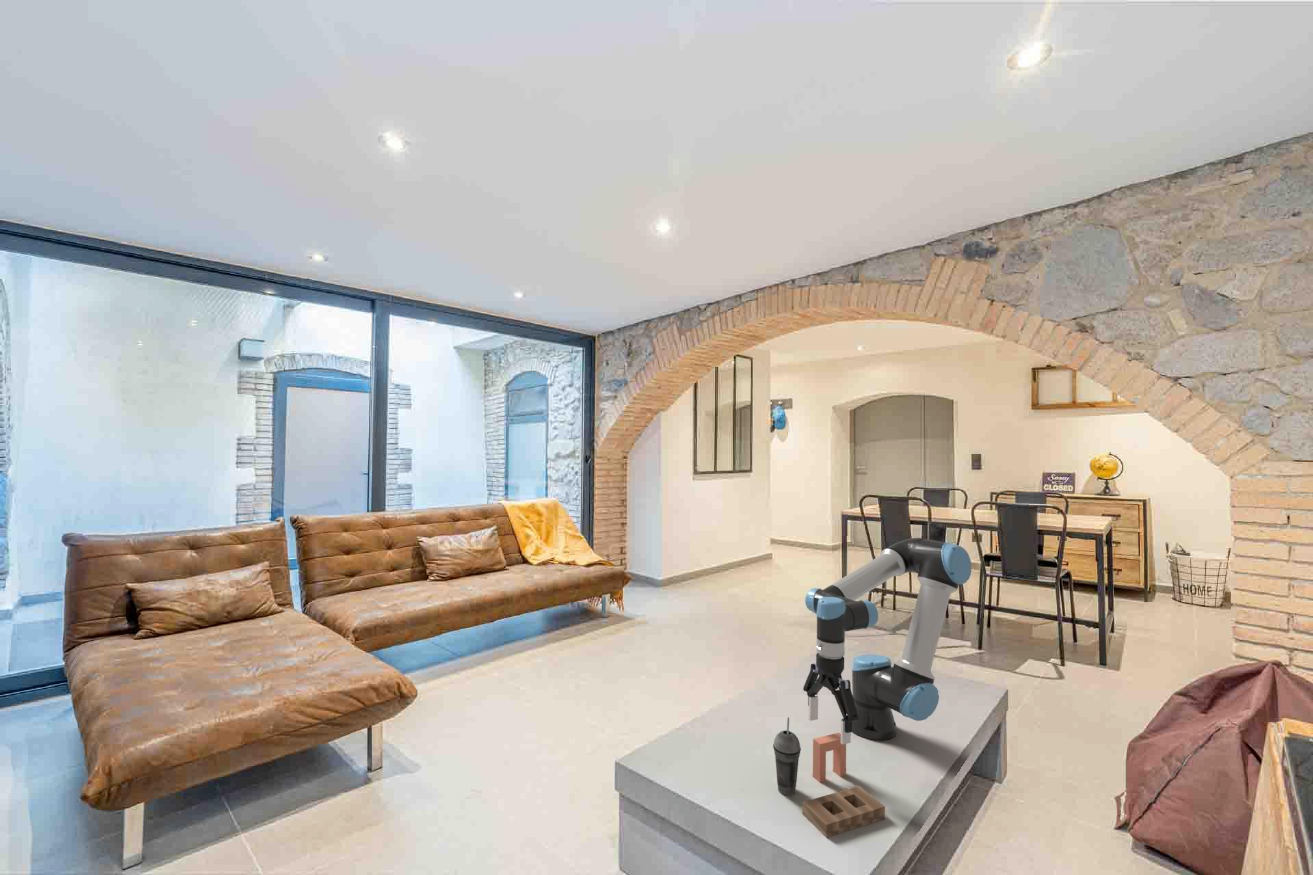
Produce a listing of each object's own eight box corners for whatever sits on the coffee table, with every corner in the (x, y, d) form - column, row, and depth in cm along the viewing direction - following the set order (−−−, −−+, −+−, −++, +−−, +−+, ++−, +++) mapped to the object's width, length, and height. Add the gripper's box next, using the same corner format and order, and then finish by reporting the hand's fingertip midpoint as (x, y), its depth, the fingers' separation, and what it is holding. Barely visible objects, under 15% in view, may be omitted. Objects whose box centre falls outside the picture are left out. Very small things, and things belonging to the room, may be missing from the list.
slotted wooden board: (859, 797, 149) (859, 785, 149) (884, 818, 140) (884, 806, 140) (802, 813, 142) (802, 801, 142) (826, 837, 134) (826, 824, 134)
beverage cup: (796, 781, 155) (796, 708, 155) (804, 798, 148) (804, 722, 148) (769, 782, 155) (770, 709, 155) (776, 799, 148) (777, 722, 148)
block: (838, 769, 161) (838, 732, 161) (845, 775, 158) (846, 737, 158) (812, 776, 158) (813, 738, 158) (819, 782, 155) (820, 744, 155)
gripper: (792, 641, 168) (790, 712, 168) (850, 673, 145) (849, 756, 145) (812, 638, 171) (811, 708, 171) (873, 669, 148) (872, 751, 148)
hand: (828, 730), depth 158 cm, fingers open, 13 cm apart
